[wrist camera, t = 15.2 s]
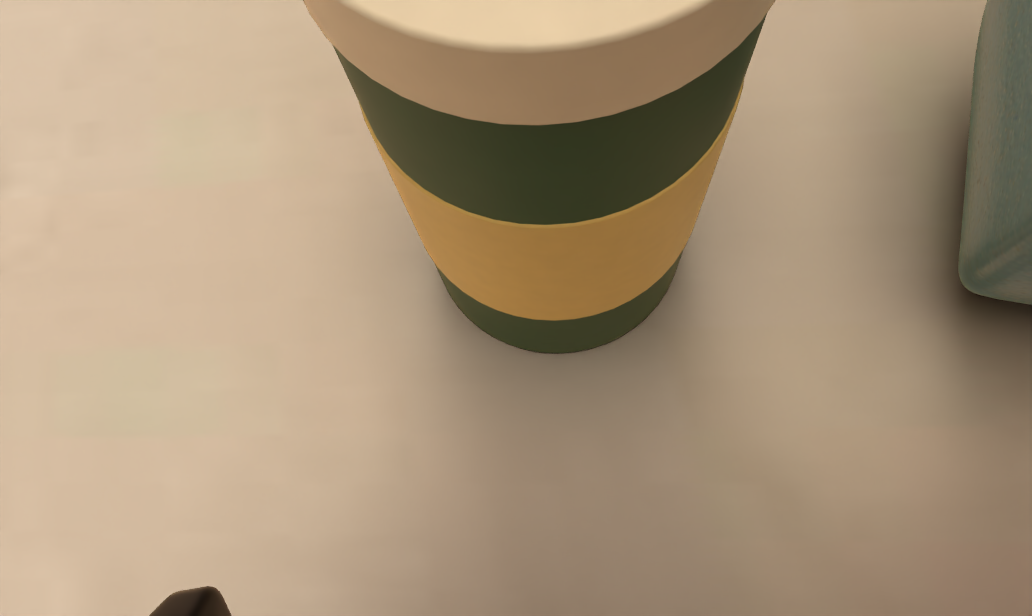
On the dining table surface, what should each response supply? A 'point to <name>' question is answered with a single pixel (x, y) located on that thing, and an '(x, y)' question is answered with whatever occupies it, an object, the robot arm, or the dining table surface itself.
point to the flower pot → (1000, 158)
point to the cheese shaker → (549, 145)
